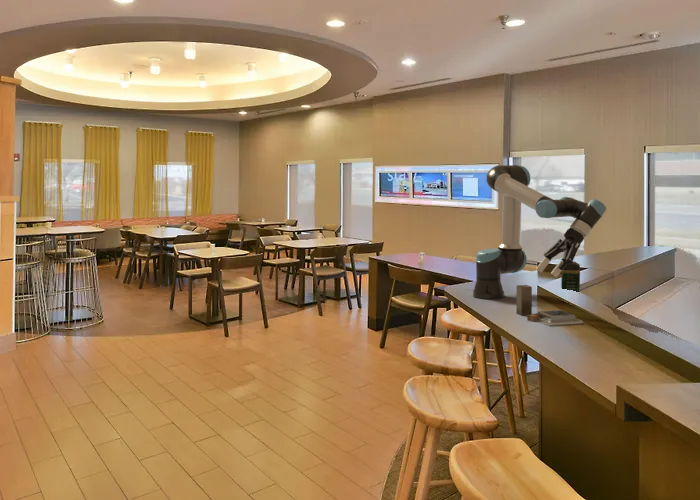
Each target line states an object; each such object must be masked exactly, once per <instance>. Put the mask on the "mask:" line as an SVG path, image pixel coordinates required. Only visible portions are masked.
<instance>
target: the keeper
mask: <svg viewBox="0 0 700 500" xmlns="http://www.w3.org/2000/svg"><path fill="white" fill-rule="evenodd" d="M537 313H538V314H540V317H539V318H536V321H537V322H539V323H541V324H544V325H546V326H547V327H554V326H565V325H567V326H568V325H569V324H570V325H583V322H584V321H583V320H581V319H578V318H576V315H575V314H573V313H570V312H568V311H565V310H562V309H551V310H539V311H537Z"/></svg>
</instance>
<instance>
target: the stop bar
mask: <svg viewBox="0 0 700 500" xmlns="http://www.w3.org/2000/svg"><path fill="white" fill-rule="evenodd" d="M532 287H533V286H530V285H527V284H523V285H521V284H520V285H519V284H518V285H516V302H515V303H516V305H515V306H516V309H515V310H516V312H515V313H516V314H517V315H518V316H522V317H524V316H526V317H527V315H531V314H533V305H532V303H533V298H532V297H533V296H532V295H533V293H532V291H533V290H532V289H533V288H532Z"/></svg>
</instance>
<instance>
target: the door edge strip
mask: <svg viewBox="0 0 700 500" xmlns="http://www.w3.org/2000/svg"><path fill="white" fill-rule="evenodd" d="M526 317H527V319H526V321H528V322H529V321H530V322H535V321H537V320H536V318H539V317H540V314H538V312H537V313H536V312H535V313H532V314H531V315H526Z"/></svg>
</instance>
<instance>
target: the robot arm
mask: <svg viewBox="0 0 700 500" xmlns="http://www.w3.org/2000/svg"><path fill="white" fill-rule="evenodd" d="M485 178H486V183H487V185H488V187H489V188H490V189H492V190H493V191H495V192H497V193H499V194H501V195H502V196H503V197H502V219H501V221H502V223H501V243H500V244H499V245H498V246H497V248H485V249H481V250H478V252H477V253H476V258H475V264H476V265H475V266H476V274H475V275H476V277H475V278H476V281H475V285H474V289H473V291H472V296H473V297H474V298H477V299H483V300H484V299H486V300H491V299H492V300H494V299H496V300H497V299H502V298H505V291H504V289H503V285H502V281H501V277H502V275H503V274H514V273H518V272H521V271H522V270H523V269H524V268H525V266H526V265H527V255H526V252H525V251H524V250H523V246H522V245H521V244H520V233H521V232H520V231H521V213H522V211H521V210H522V209H521V207H522V204H523V205H524V206H527V207H528V208H530V209H533V210H534V211H535V212H536V214H537V216H538V217H539V218H541V219H542V218H543V219H551V218H562V217H563V218H566V217H570V218H574V221H573V222H571V225H570V226H569V228H568V229H567V230H566V231H565V232H564V234H563V236H564V239H561V238H559V239H558V240H557V242H555V243H554V245H552V246H551V247H550V248H549V249H548V250H547V251H546V252H544V253H543V256H544V258H543V259H542V260H541V261H540V263H539V264H538V265H537V267H536V268H535V269H536V270H537V271H538V272H539V273H543V271H544V270H545V269H546V267H547V266H548V265H549V264H550V263H551V261H552V259H553V258H554V257H556V256H558V255H560V253H563V256H562V258H561V259H560V261H559V262H558V263H557V264H556V265H555V267H554V268H553V269H552V271H551V272H550V274H551V275H552V276H554V277H555V278H557V277H558V276H559V275H560V273H562V270H563V269H564V267H565V266H566V264H569V263H570V264H571V263H572V262H574V259H575V257H576V254H577V252H578V249H580V247H581V243H583V241H584V240H585V238H586V237H587V236H588V235H589V234H590V232H591V230H593V228H594V227H595V226H596V224H598V222H599V221H600V220H601V218H603V215H604V214H605V213H606V211H607V206H606V205H605V204H604V203H603V202H601V200H598V199H594V198H592V199H590V200H589V201H588V202H585V201H582V200H578V199H575V198H573V197H568V196H563V197H560V199H553V198H551V197H549V196H547V195H545V194H543V193H541V192H539V191H538V190H536V189H533V188H531V187H530V183H531V174H530V171H529V169H527V167H525V166H523V165H519V164H518V165H517V164H516V165H515V164H514V165H512V164H511V165H509V164H508V165H507V164H506V165H505V164H504V165H502V164H501V165H495V166H492V167H491V168H490V169H489V170H488V172H487V174H486V177H485Z"/></svg>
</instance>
